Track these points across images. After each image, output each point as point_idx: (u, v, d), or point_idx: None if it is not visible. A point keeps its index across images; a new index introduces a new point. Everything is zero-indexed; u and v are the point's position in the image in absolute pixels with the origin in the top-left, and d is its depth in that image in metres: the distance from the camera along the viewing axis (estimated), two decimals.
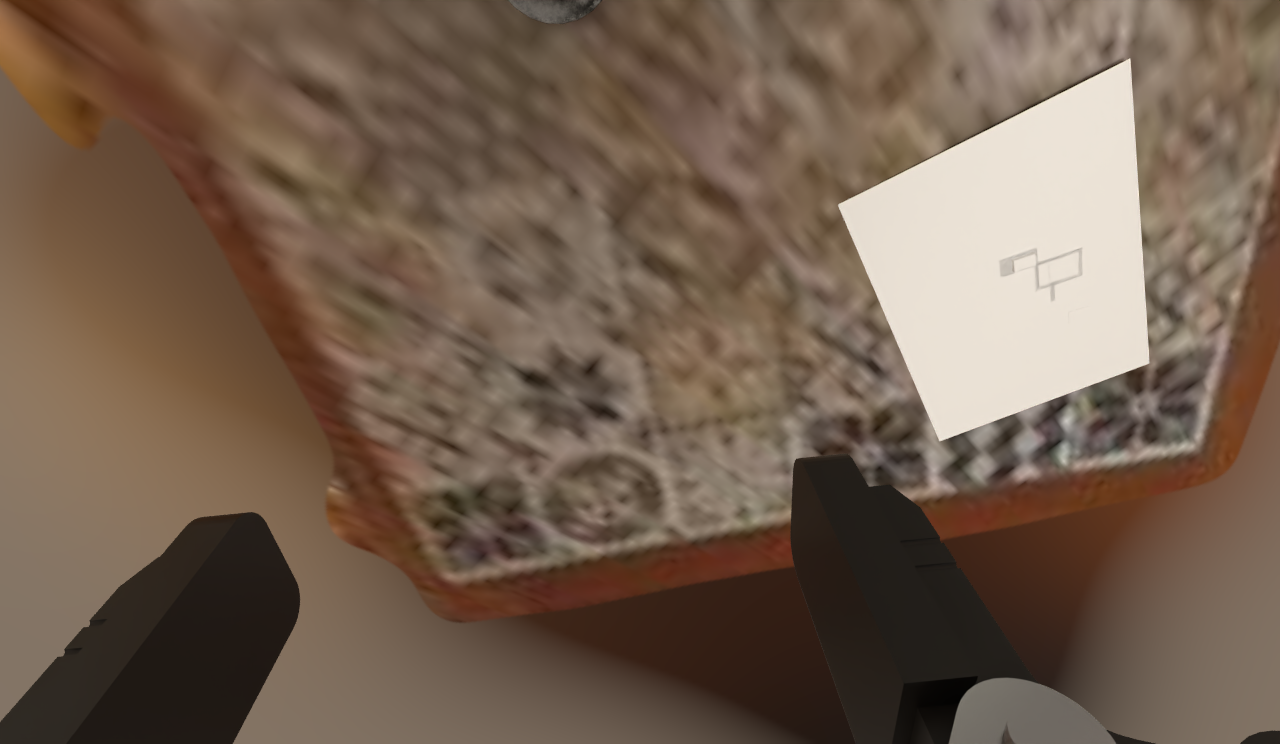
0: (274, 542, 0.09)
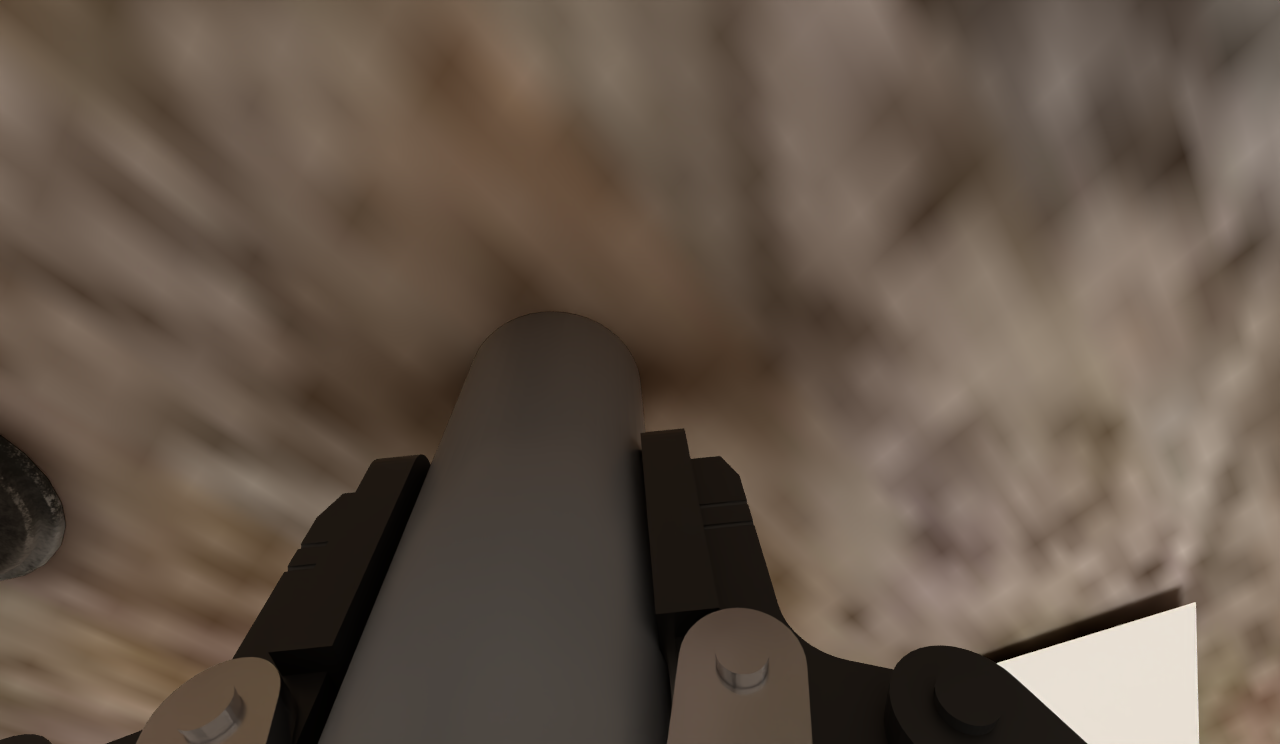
0: None
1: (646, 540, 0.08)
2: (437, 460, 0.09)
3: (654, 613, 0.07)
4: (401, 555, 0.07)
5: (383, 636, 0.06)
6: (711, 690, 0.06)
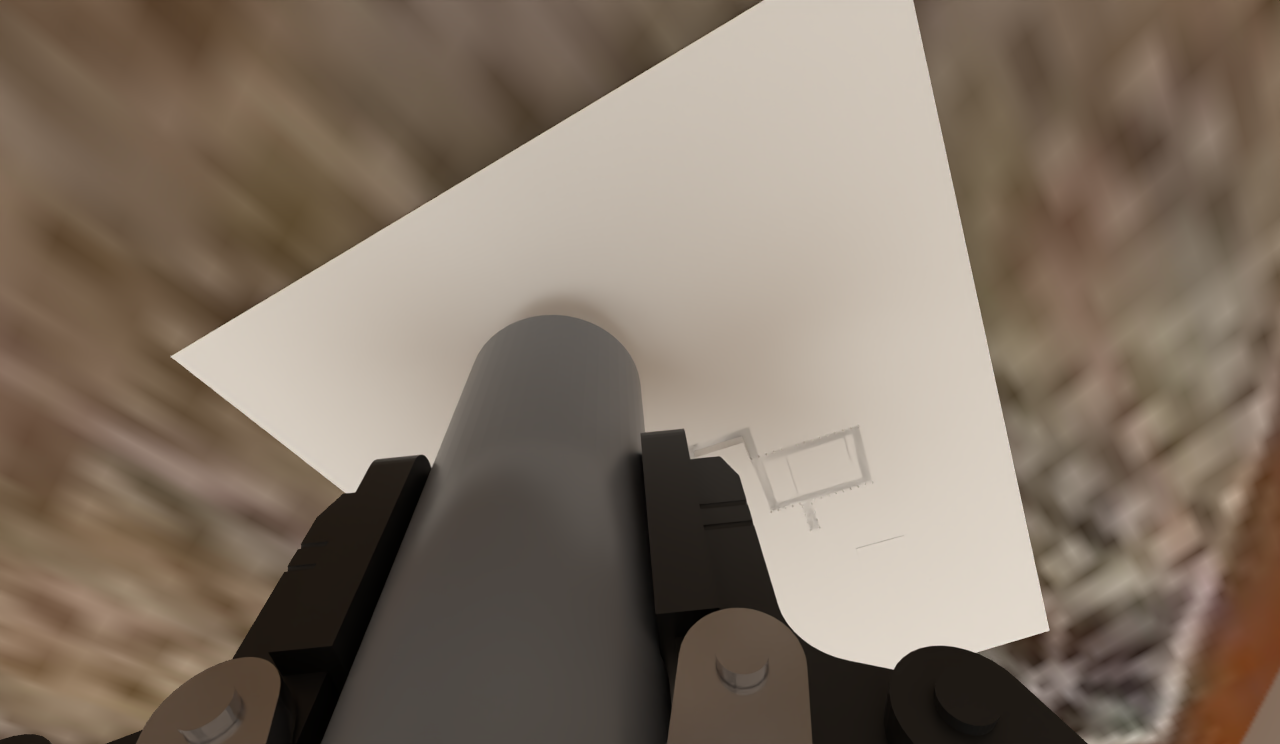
0: None
1: (646, 544, 0.08)
2: (438, 464, 0.09)
3: (654, 617, 0.07)
4: (402, 559, 0.07)
5: (384, 640, 0.06)
6: (711, 690, 0.06)
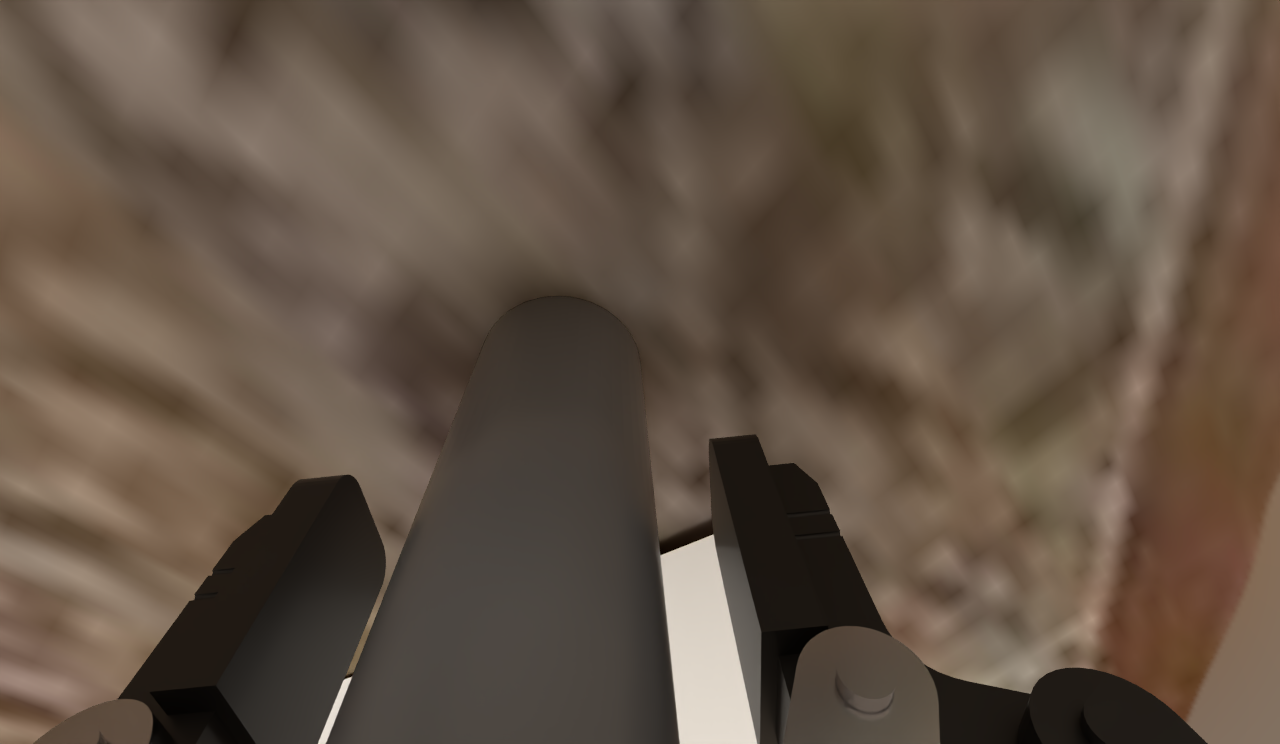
0: (366, 505, 0.10)
1: (645, 495, 0.09)
2: (455, 426, 0.10)
3: (652, 554, 0.08)
4: (427, 503, 0.08)
5: (416, 565, 0.07)
6: (830, 708, 0.05)
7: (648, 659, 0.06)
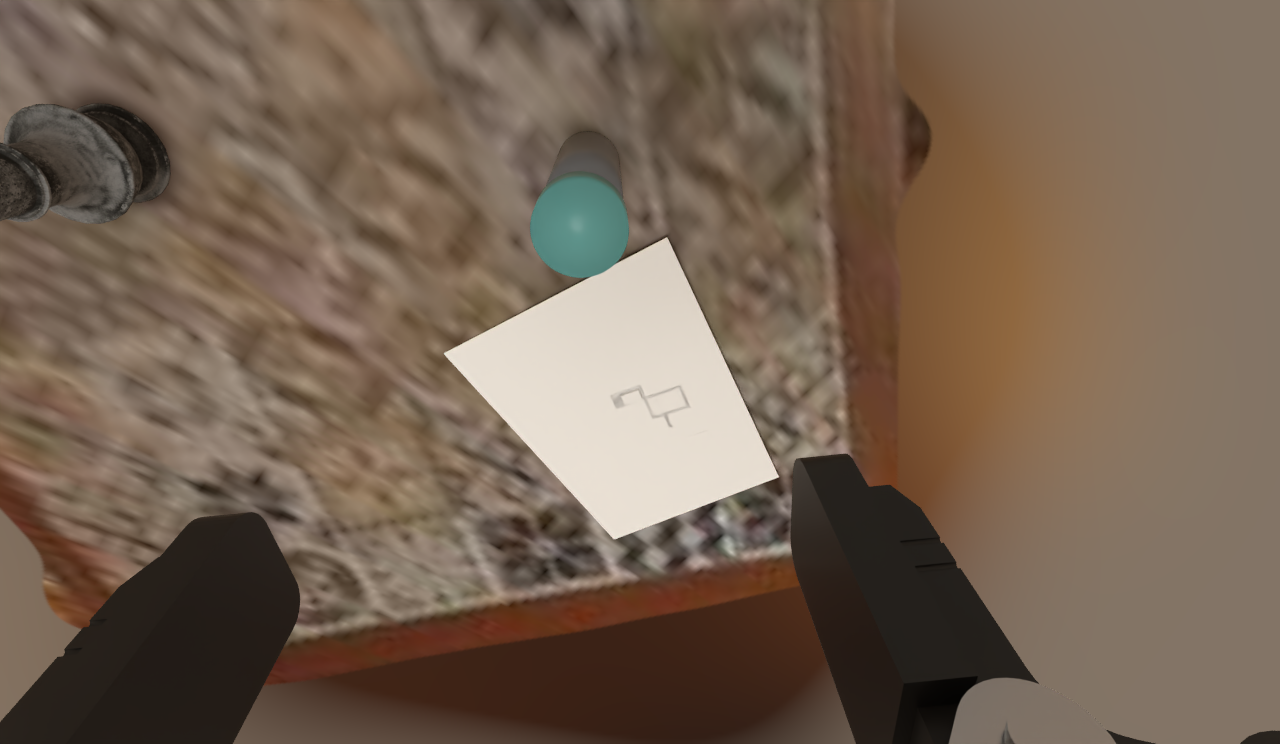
0: (274, 542, 0.09)
1: (617, 167, 0.31)
2: (559, 155, 0.32)
3: (618, 173, 0.30)
4: (557, 160, 0.30)
5: (560, 161, 0.29)
6: None
7: (615, 173, 0.28)
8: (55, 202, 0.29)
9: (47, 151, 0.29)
